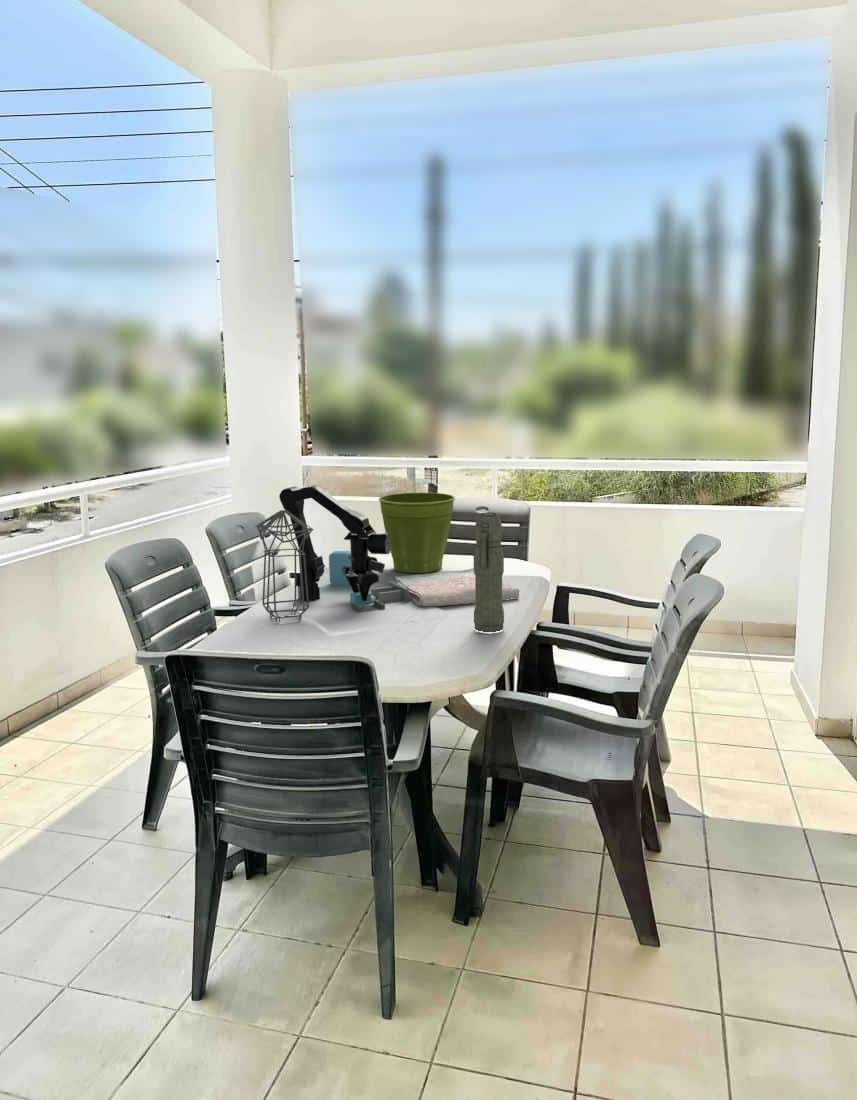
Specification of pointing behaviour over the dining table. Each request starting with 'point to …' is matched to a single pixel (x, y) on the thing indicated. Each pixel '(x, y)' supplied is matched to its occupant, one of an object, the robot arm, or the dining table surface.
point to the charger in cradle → (368, 607)
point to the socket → (391, 593)
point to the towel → (447, 588)
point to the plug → (360, 598)
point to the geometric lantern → (272, 519)
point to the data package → (338, 567)
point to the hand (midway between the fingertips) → (360, 598)
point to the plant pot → (417, 529)
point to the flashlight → (488, 573)
